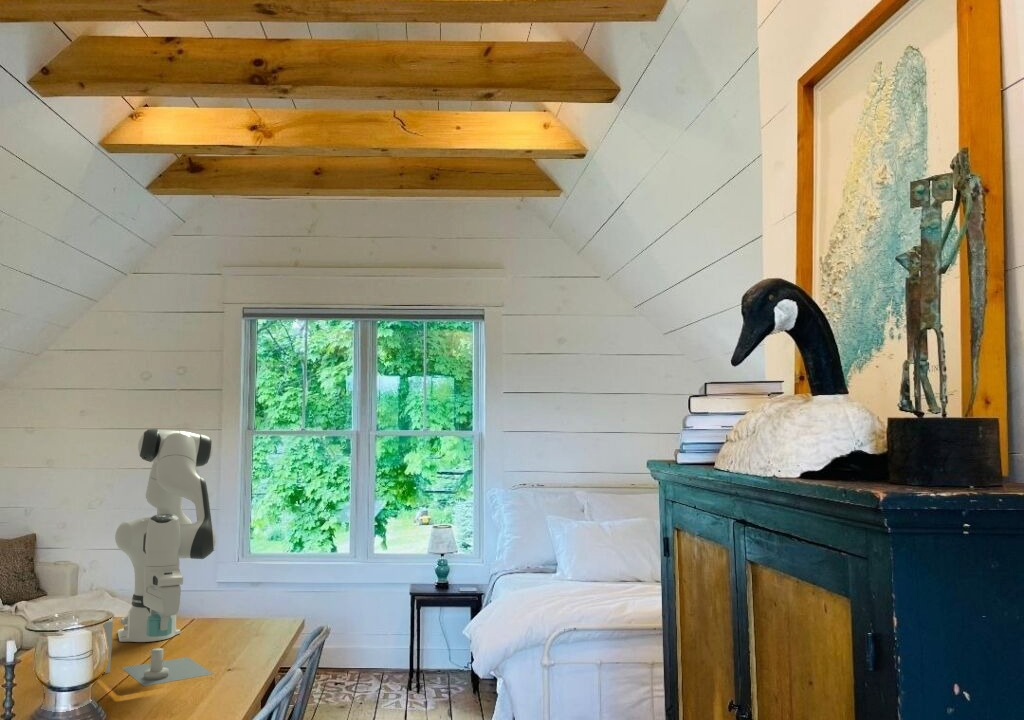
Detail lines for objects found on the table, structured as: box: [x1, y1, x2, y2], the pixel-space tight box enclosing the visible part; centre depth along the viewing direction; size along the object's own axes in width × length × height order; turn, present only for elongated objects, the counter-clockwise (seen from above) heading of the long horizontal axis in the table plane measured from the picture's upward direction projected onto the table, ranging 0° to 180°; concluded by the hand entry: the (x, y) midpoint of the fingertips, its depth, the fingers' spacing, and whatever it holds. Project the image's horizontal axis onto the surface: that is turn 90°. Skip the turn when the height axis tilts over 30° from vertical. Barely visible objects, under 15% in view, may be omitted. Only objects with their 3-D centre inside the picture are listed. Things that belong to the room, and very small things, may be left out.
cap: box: [146, 614, 172, 637], centre depth 218 cm, size 6×6×5 cm
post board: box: [121, 647, 214, 691], centre depth 222 cm, size 22×18×8 cm
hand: (159, 627), depth 218 cm, fingers closed on cap, 6 cm apart
